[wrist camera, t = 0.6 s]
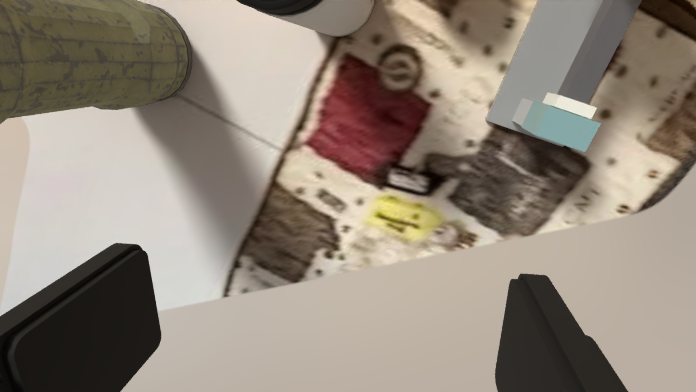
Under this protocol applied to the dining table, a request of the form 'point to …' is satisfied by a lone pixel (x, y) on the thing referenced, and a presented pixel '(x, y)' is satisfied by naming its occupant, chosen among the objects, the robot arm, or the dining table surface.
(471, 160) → the dining table surface
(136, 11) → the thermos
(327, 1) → the travel mug
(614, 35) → the grey long frame
